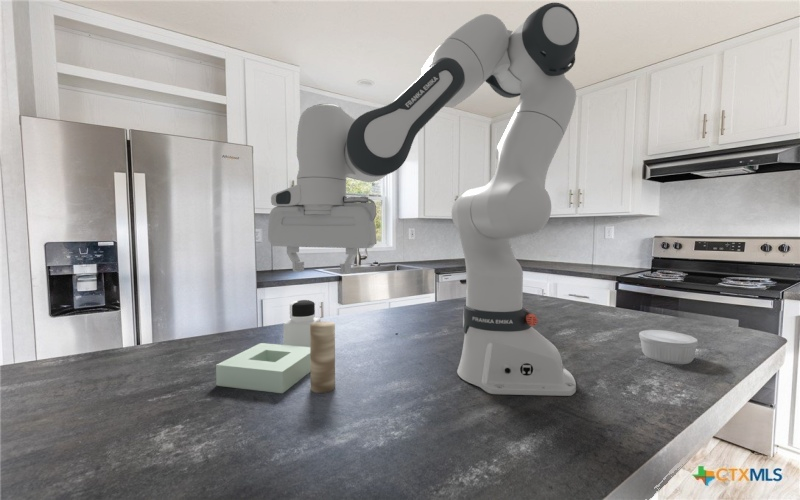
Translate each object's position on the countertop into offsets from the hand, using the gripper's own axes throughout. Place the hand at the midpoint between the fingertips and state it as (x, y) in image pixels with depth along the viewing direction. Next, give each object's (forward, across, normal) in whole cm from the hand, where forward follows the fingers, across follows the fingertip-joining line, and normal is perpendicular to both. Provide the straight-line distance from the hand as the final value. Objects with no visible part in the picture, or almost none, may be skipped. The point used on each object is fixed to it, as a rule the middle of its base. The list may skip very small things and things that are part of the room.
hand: (321, 272), depth 67 cm
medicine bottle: (+22, +15, -20) cm, 33 cm away
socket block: (+22, +13, -3) cm, 25 cm away
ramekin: (+21, -71, -35) cm, 82 cm away
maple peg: (+22, 0, 0) cm, 22 cm away
